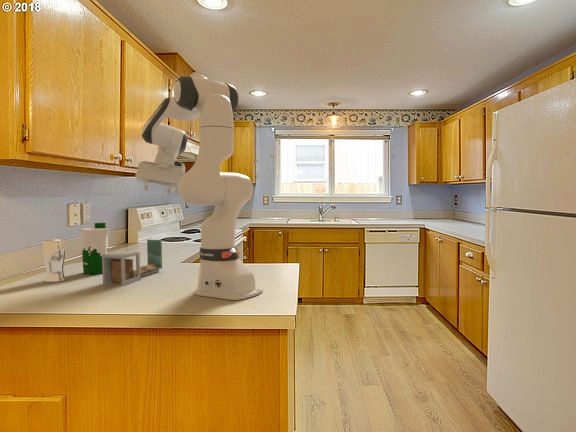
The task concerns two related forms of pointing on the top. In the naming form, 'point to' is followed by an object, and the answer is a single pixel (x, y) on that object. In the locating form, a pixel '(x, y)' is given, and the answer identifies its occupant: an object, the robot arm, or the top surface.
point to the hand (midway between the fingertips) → (157, 191)
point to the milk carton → (94, 248)
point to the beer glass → (54, 259)
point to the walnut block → (117, 270)
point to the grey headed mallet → (122, 267)
